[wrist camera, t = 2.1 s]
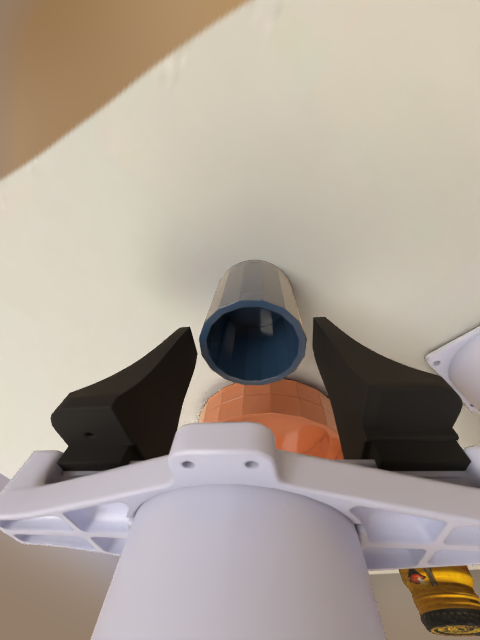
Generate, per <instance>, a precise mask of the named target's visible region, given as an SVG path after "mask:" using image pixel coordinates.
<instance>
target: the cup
mask: <svg viewBox="0 0 480 640" xmlns="http://www.w3.org/2000/svg"><path fill="white" fill-rule="evenodd" d="M306 341H307V339H306V335H305V331H304V328H303V324H302V321H301V317H300V314H299V310H298V307H297V303H296V300H295V296H294V293H293V290H292V288H291V284H290V282H289V280H288V278H287V276H286V275H285V274H284V272H283V271H282V270H280V269H279V268H278V267H276V266H275V265H273V264H271V263H268V262H265V261H260V260H248V261H244V262H241V263H238V264H236V265H234V266H233V267H231V268H230V269H229V270H228V271H227V272H226V273H225V274H224V275H223V277H222V278H221V280H220V282H219V284H218V287H217V290H216V293H215V295H214V298H213V301H212V303H211V306H210V309H209V311H208V314H207V317H206V320H205V322H204V325H203V328H202V331H201V334H200V337H199V342H200V348H201V354H202V356H203V358H204V359H205V361H206V362H207V364H208V365H209V367H210V368H211V369H212V370H213V371H214V372H216V373H217V374H219V375H220V376H222V377H223V378H224V379H226V380H229V381H232V382H236V383H239V384H242V385H243V384H244V385H265V384H269V383H273V382H276V381H280V380H282V379H283V378H285V377H286V376H288V375H289V374H291V373H292V372H294V371H295V370H296V368H297V367H298V365H299V364H300V362H301V361H302V359H303V358H304V356H305V349H306Z"/></svg>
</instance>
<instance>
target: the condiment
mask: <svg viewBox="0 0 480 640" xmlns="http://www.w3.org/2000/svg"><path fill="white" fill-rule="evenodd" d="M399 572H400V574H401V578H402V580H403V582H404V584H405V585H406V586H407V587H408V588H409V590H410V591H411V593H412V597H413V600H414V603H415V605H416V607H417V609H418V610H419V613H420V616H421V621H422V623H423V624H424V626H425V627H426V628H427V630H429V632H432V633H434V634H439V635H445V636H477V635H478V636H480V600H479V597H478V596H477V595H476V594H475V593H474V590H473V579H472V576H471V574H470V572H469V570H468V568H467V566H466V565H463V566H443V567H427V568H410V569H399Z"/></svg>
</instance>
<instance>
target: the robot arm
mask: <svg viewBox="0 0 480 640" xmlns="http://www.w3.org/2000/svg"><path fill="white" fill-rule="evenodd" d="M313 351H314V356H315V360H316V363H317V366H318V369H319V372H320V374H321V377H322V380H323V382H324V385H325V388H326V390H327V393H328V396H329V399H330V402H331V406H332V410H333V414H334V418H335V422H336V427H337V431H338V435H339V440H340V444H341V449H342V453H343V458H344V460H331V459H326V458H320V457H315V456H310V455H305V454H300V453H295V452H290V451H285V450H280V449H277V448H276V443H275V436H274V434H273V432H272V431H271V429H269V428H268V427H266V426H264V425H262V424H261V423H256V422H249V421H245V422H205V423H191V424H187V425H183V426H182V427H181V428H180V429H178V430H177V427H178V422H179V418H180V413H181V409H182V405H183V401H184V398H185V395H186V392H187V390H188V387H189V384H190V381H191V378H192V375H193V372H194V369H195V365H196V359H197V350H196V347H195V343H194V340H193V336H192V332H191V329H190V327H182V328H179V329H178V330H176V331H175V332H174V333H173V334H172V335H170V336H169V337H168V338H167V339H166V340H164V341H163V342H162V343H161V344H160V345H159V346H157V347H156V348H155V349H153V350H152V351H151V352H149V353H148V354H147V355H146V356H144V357H143V358H141V359H140V360H138V361H137V362H135V363H134V364H132V365H130V366H129V367H127V368H125V369H123V370H122V371H120V372H118V373H116V374H114V375H112V376H110V377H108V378H106V379H104V380H102V381H99V382H97V383H95V384H92V385H90V386H87V387H85V388H82V389H79V390H77V391H74V392H71V393H69V394H68V396H67V397H66V398H65V399H64V400H63V402H62V403H61V404H60V405H59V406H58V407H57V409H56V410H55V411H54V412H53V413H52V415H51V423H52V426H53V427H54V429H55V430H56V432H57V433H58V434H59V435H60V436H61V437H62V439H63V440H64V441H65V442H66V443H67V445H68V448H67V449H66V451H65V452H64V453H63V452H60V451H55V450H52V451H34V452H33V453H32V454H31V456H30V457H29V458H28V459H27V461H26V462H25V463H24V464H23V466H22V467H21V468H20V469H19V471H18V472H17V473H16V474H15V476H14V477H13V478H12V479H11V481H10V482H9V483H8V484H7V486H6V487H5V488H4V489H3V490H2V492H1V493H0V530H1V531H3V532H5V533H6V534H8V535H9V536H11V537H12V538H14V539H15V540H17V541H18V542H20V543H22V544H34V545H48V546H57V547H65V548H72V549H79V550H85V551H92V552H98V553H104V554H110V555H116V556H120V559H119V562H118V565H117V567H116V570H115V573H114V576H113V579H112V581H111V584H110V587H109V590H108V593H107V596H106V598H105V601H104V604H103V606H102V610H101V612H100V615H99V618H98V620H97V623H96V626H95V629H94V632H93V634H92V637H91V640H387V639H386V636H385V632H384V628H383V625H382V621H381V617H380V614H379V610H378V606H377V602H376V599H375V595H374V592H373V588H372V585H371V581H370V577H369V573H368V571H377V570H394V569H410V568H427V567H443V566H463V565H480V446H469V447H467V448H464V449H462V448H461V447H460V445H459V444H458V443H457V441H456V440H458V439H459V437H458V435H457V433H456V432H455V431H454V429H453V428H452V427H453V425H454V423H455V421H456V419H457V417H458V416H459V414H460V411H461V408H462V402H463V403H464V404H465V405H466V406H467V407H468V408H469V409H470V411H471V412H473V413H480V326H479V327H477V328H475V329H473V330H472V331H470V332H468V333H466V334H464V335H462V336H460V337H459V338H457V339H455V340H453V341H451V342H449V343H448V344H446V345H444V346H442V347H440V348H438V349H437V350H435V351H433V352H431V353H429V354H428V355H426V357H425V360H426V361H427V363H428V364H429V365H430V366H431V367H432V368H433V369H434V370H435V372H436V373H437V374H438V375H439V376H438V375H434V374H431V373H427V372H424V371H420V370H417V369H414V368H411V367H408V366H406V365H403V364H400V363H398V362H395V361H393V360H391V359H388V358H386V357H384V356H382V355H380V354H378V353H376V352H374V351H372V350H370V349H368V348H367V347H365V346H363V345H361V344H360V343H358V342H357V341H355V340H354V339H352V338H351V337H349V336H348V335H347V334H345V333H344V332H343V331H341V330H340V329H339V328H338V327H336V326H335V325H334V324H333V323H332V322H330V321H329V320H328V319H327V318H326V317H315V318H313ZM435 361H436V362H435Z"/></svg>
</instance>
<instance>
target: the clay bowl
mask: <svg viewBox="0 0 480 640" xmlns="http://www.w3.org/2000/svg"><path fill="white" fill-rule="evenodd" d="M245 421H249V422H256V423H261V424H262V425H264V426H266V427H268V428H269V429H271V431H272V432H273V434H274V436H275V443H276V448H277V449H280V450H285V451H290V452H295V453H300V454H305V455H310V456H315V457H320V458H326V459H331V460H344V458H343V453H342V449H341V444H340V440H339V435H338V431H337V427H336V422H335V418H334V414H333V410H332V406H331V402H330V399H328V398H327V397H326V396H325V395H324V394H322V393H321V392H320V391H319V390H317V389H314V388H312V387H309V386H307V385H304V384H302V383H299V382H297V381H292V380H285V379H282V380H280V381H276V382H273V383H269V384H265V385H244V384H243V385H242V384H239V383H235V384H232V385H229V386H227V387H224V388H222V389H221V390H220V391H218V392H217V393H216V394H214V395H213V396H212V397H211V398H209V399H208V401H207V402H206V404H205V406H204V408H203V409H202V411H201V413H200V417H199V421H198V423H205V422H245Z"/></svg>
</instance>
